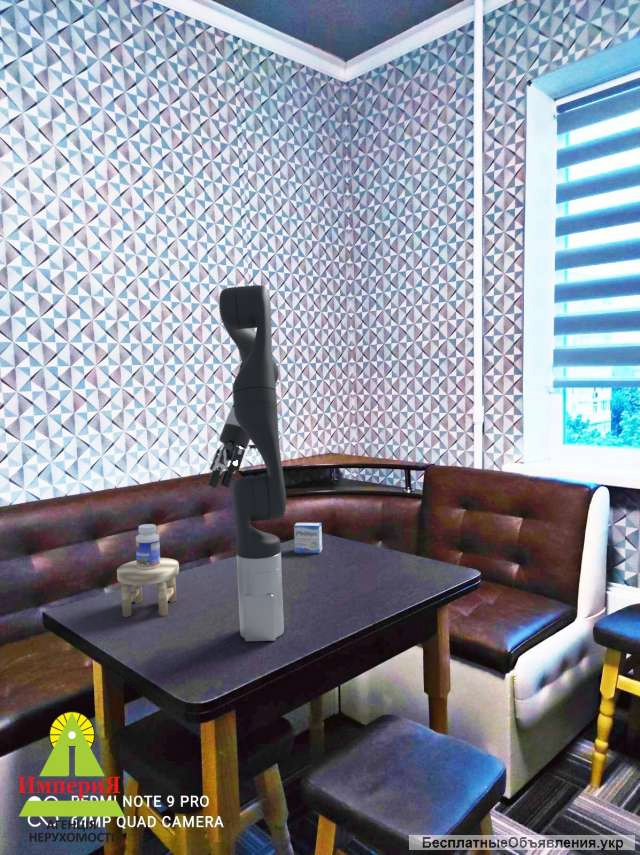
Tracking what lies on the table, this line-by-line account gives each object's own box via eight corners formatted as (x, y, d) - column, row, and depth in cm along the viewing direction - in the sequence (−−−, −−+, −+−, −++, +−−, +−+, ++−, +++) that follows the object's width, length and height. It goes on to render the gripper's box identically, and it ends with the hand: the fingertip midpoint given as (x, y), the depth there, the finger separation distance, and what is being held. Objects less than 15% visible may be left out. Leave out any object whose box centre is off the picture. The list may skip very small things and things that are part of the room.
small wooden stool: (172, 618, 136) (170, 575, 136) (110, 620, 136) (108, 577, 135) (186, 596, 150) (184, 556, 149) (130, 597, 150) (127, 558, 149)
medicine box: (294, 553, 184) (293, 525, 183) (297, 549, 188) (296, 521, 187) (320, 553, 182) (319, 525, 182) (322, 549, 187) (321, 522, 186)
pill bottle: (131, 568, 141) (129, 527, 141) (147, 561, 146) (145, 522, 145) (149, 571, 139) (147, 529, 138) (165, 564, 144) (163, 524, 143)
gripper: (216, 425, 162) (194, 482, 158) (236, 419, 150) (214, 480, 145) (240, 436, 165) (220, 492, 161) (262, 431, 153) (241, 491, 149)
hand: (217, 486), depth 153 cm, fingers open, 8 cm apart
